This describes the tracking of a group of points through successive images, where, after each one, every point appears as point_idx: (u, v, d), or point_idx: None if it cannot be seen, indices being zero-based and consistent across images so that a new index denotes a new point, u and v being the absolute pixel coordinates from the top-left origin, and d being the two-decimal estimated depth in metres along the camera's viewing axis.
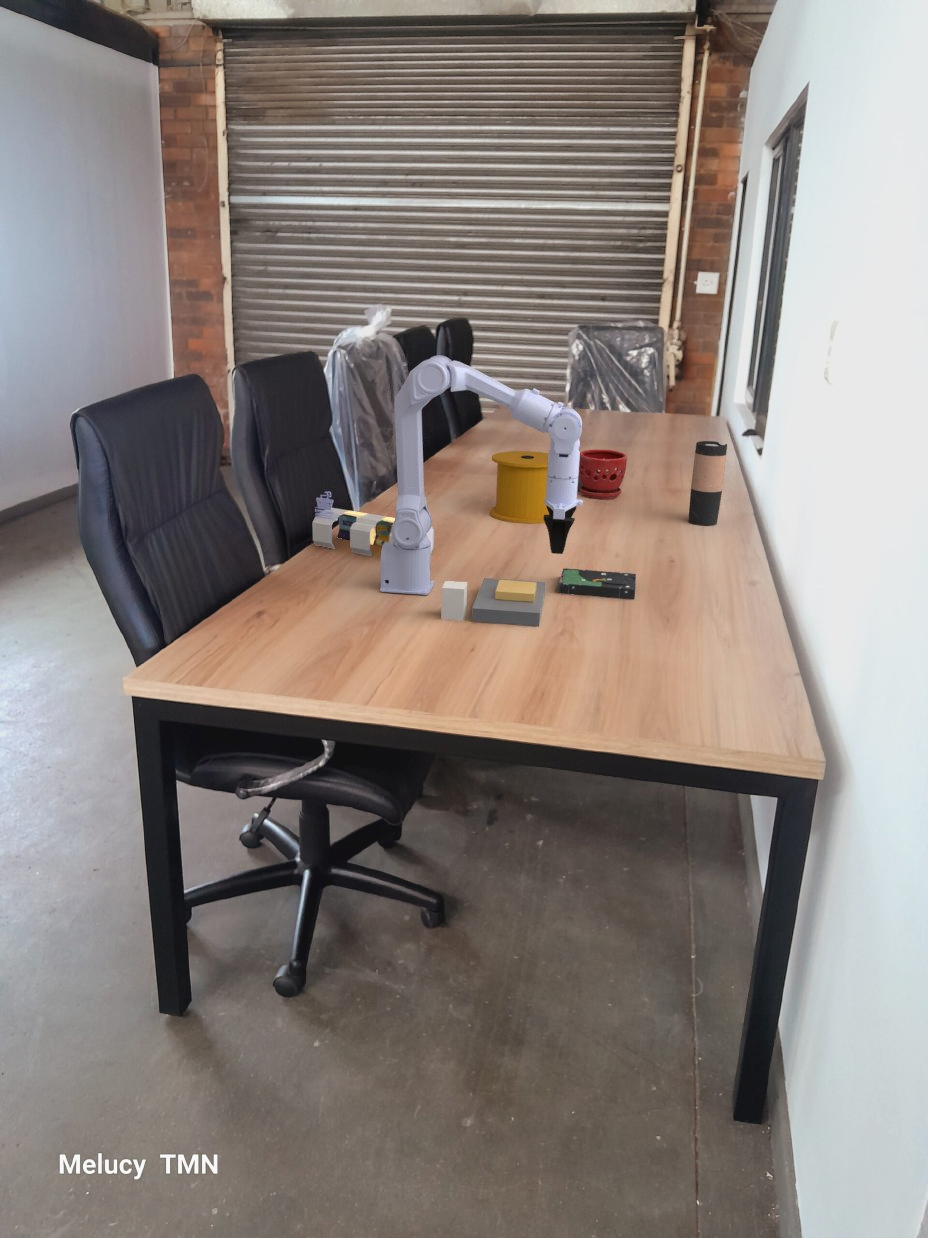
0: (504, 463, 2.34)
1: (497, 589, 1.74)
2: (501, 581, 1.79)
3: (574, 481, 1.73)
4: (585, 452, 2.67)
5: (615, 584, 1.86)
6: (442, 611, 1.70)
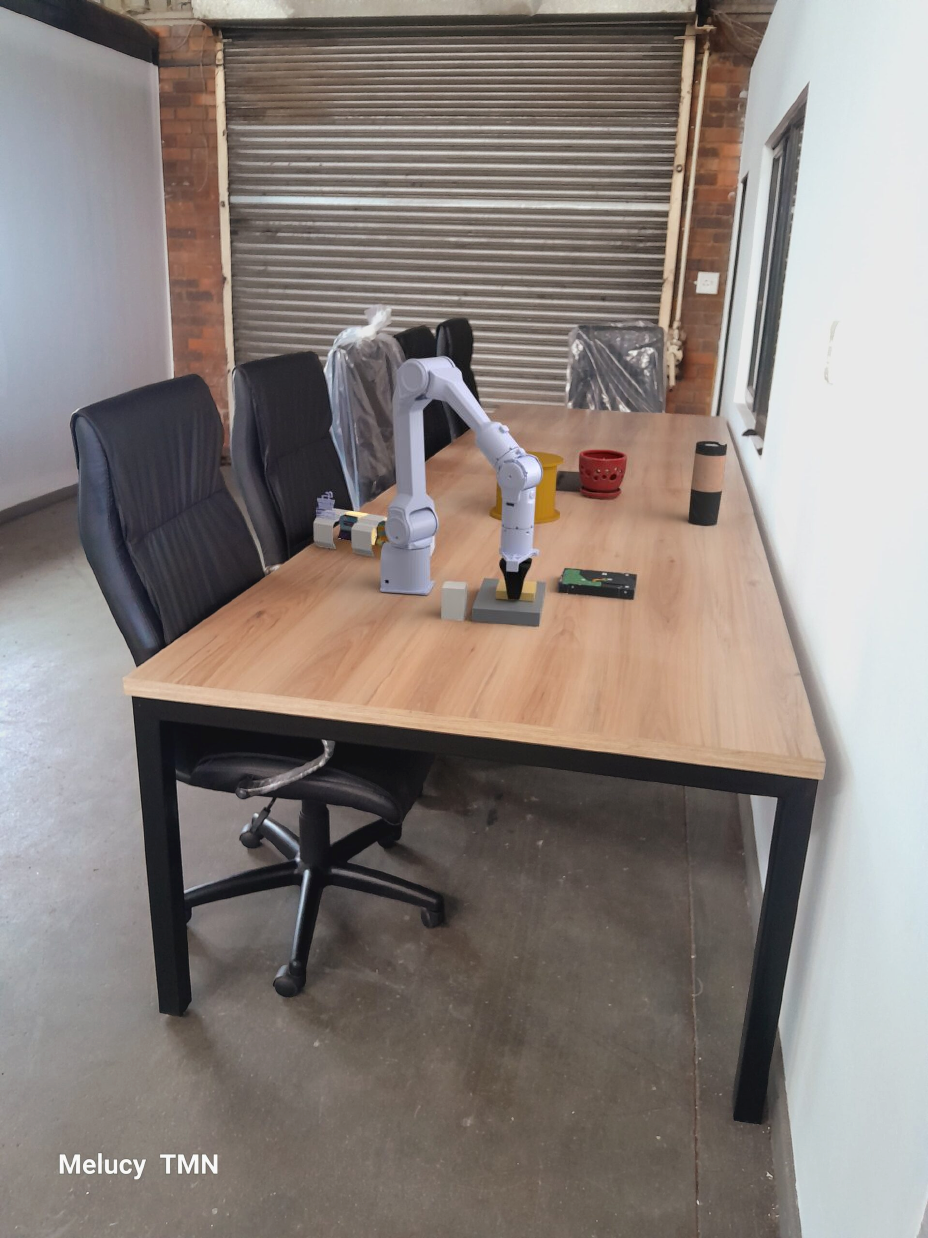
0: None
1: (498, 588, 1.75)
2: (501, 581, 1.79)
3: (529, 531, 1.66)
4: (585, 452, 2.67)
5: (615, 584, 1.86)
6: (442, 611, 1.70)
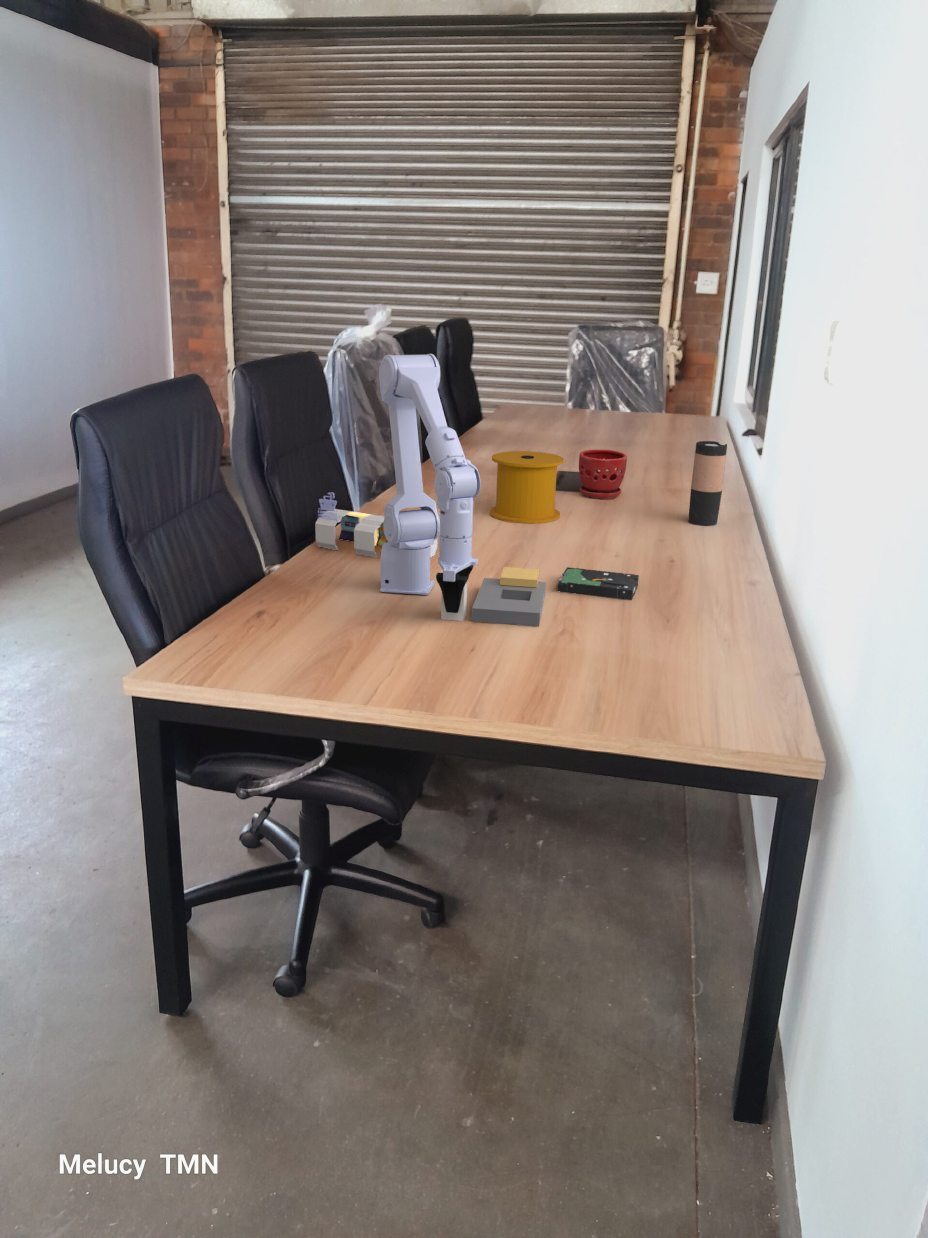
0: (504, 463, 2.34)
1: (502, 575, 1.82)
2: (505, 568, 1.86)
3: (467, 540, 1.65)
4: (585, 452, 2.67)
5: (614, 584, 1.86)
6: (442, 611, 1.70)
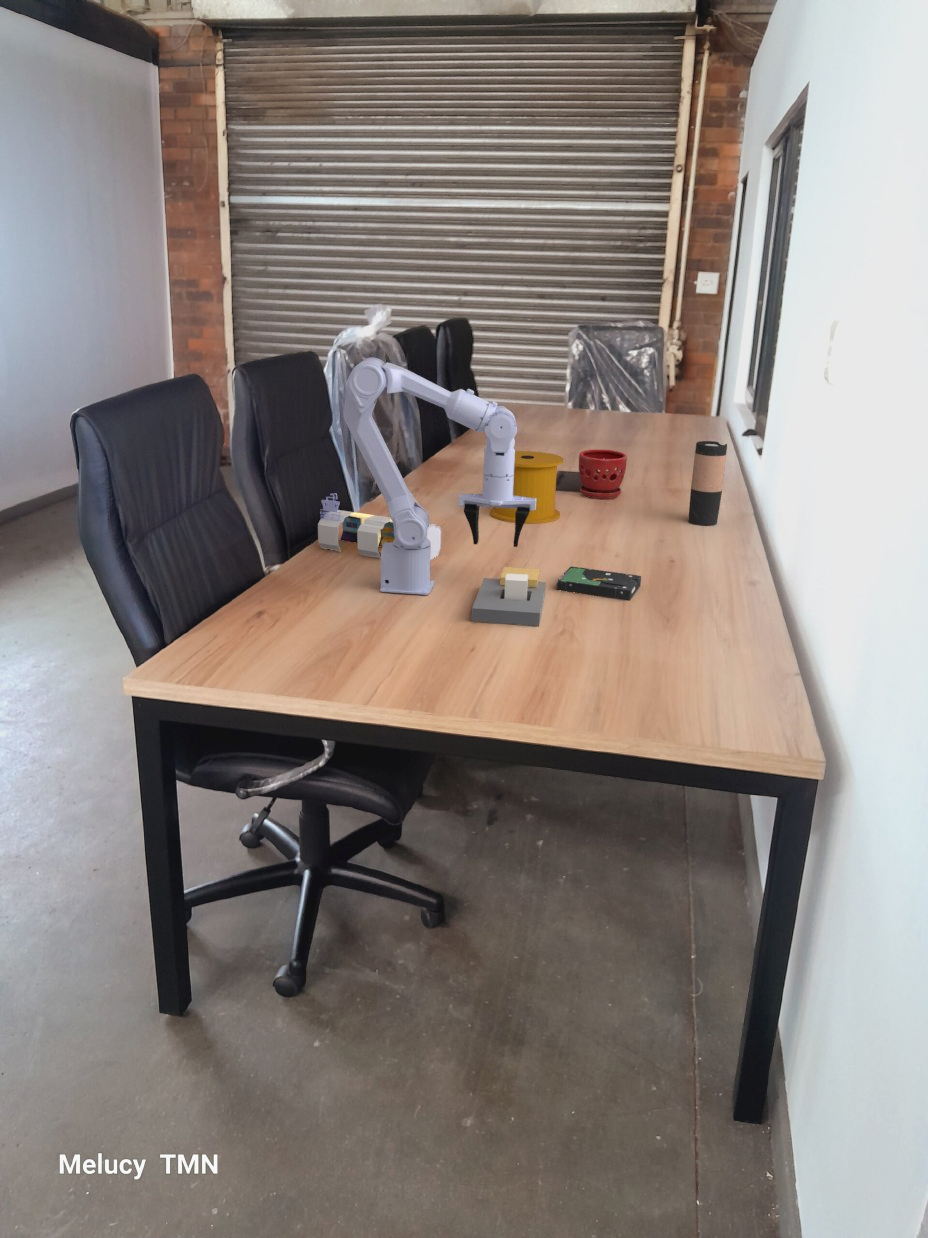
0: None
1: (502, 575, 1.82)
2: (505, 568, 1.86)
3: (488, 478, 1.77)
4: (585, 452, 2.67)
5: (613, 584, 1.86)
6: None
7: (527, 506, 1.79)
